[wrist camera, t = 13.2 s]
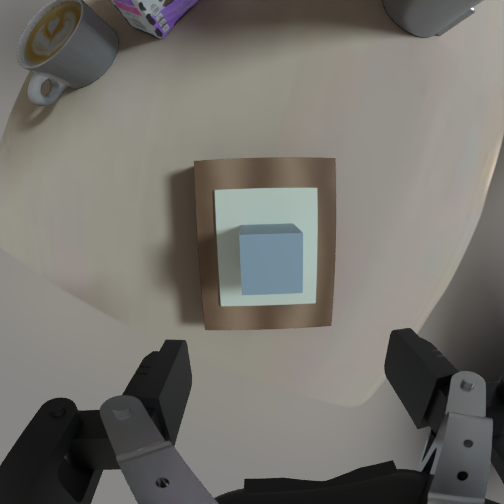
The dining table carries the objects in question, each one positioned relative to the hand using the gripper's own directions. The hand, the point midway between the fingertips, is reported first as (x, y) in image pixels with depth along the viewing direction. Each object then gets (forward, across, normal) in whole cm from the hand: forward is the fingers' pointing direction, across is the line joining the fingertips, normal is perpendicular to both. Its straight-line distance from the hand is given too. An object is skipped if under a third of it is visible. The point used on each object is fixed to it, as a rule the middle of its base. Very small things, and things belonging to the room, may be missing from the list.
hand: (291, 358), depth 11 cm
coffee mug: (+24, +24, -25) cm, 42 cm away
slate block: (+20, 0, 0) cm, 20 cm away
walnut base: (+24, 0, 0) cm, 24 cm away
